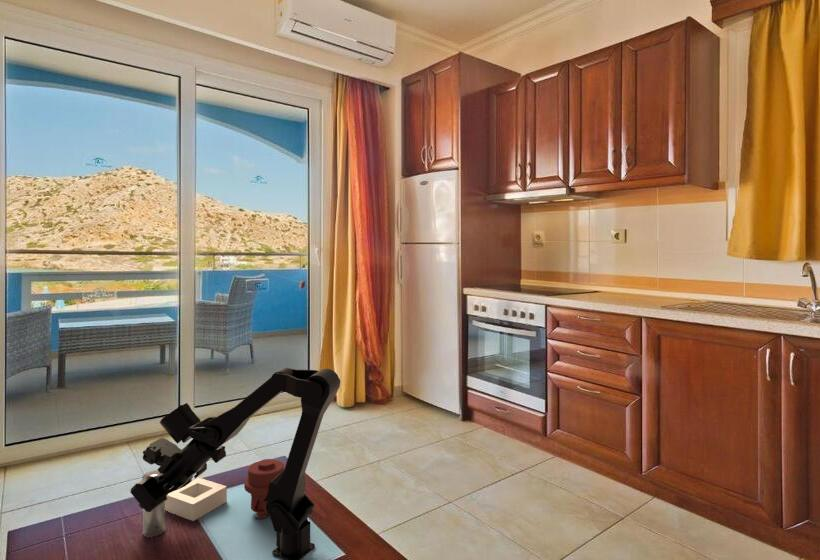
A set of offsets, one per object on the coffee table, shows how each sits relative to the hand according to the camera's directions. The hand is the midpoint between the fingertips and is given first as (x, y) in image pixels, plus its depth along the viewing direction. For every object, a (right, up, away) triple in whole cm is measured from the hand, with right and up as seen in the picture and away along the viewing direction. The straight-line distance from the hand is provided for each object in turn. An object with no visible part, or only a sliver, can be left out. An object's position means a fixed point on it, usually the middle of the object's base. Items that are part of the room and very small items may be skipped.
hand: (148, 501), depth 108 cm
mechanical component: (+24, -7, +9) cm, 26 cm away
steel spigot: (+1, -7, 0) cm, 7 cm away
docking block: (+6, -6, +11) cm, 14 cm away
